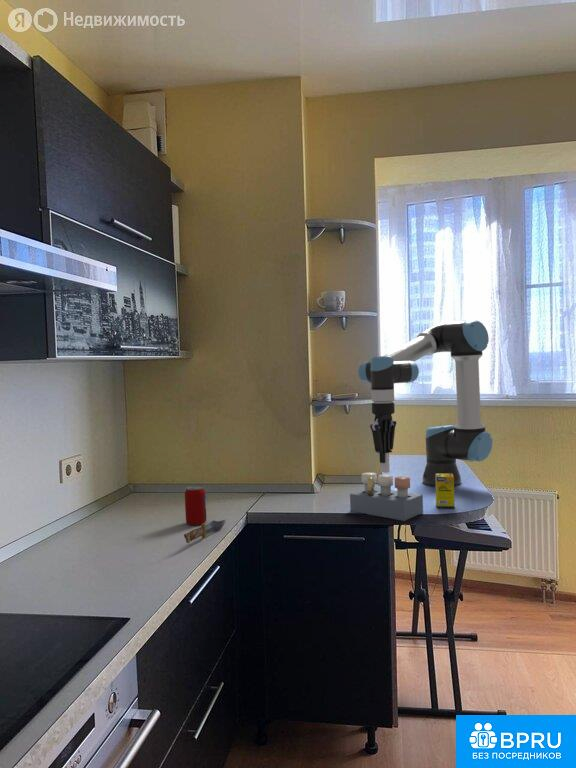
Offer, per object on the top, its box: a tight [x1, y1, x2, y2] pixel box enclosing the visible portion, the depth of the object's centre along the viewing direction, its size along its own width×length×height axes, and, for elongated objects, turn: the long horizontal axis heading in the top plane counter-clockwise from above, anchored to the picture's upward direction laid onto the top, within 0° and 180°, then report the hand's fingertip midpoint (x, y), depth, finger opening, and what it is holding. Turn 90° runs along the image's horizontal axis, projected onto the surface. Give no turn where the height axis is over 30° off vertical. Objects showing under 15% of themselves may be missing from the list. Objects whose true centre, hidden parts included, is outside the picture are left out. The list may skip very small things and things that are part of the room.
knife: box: [183, 518, 227, 544], centre depth 175 cm, size 25×1×5 cm, turn 158°
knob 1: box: [361, 472, 378, 493], centre depth 200 cm, size 5×5×8 cm
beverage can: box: [184, 485, 208, 526], centre depth 191 cm, size 7×7×12 cm
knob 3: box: [394, 476, 411, 499], centre depth 191 cm, size 5×5×8 cm
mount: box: [349, 487, 424, 522], centre depth 196 cm, size 12×21×6 cm, turn 48°
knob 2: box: [377, 473, 394, 496], centre depth 196 cm, size 5×5×8 cm
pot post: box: [367, 477, 375, 496], centre depth 195 cm, size 2×2×6 cm
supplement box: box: [435, 474, 456, 509], centre depth 200 cm, size 6×6×11 cm
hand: (384, 471), depth 195 cm, fingers closed
